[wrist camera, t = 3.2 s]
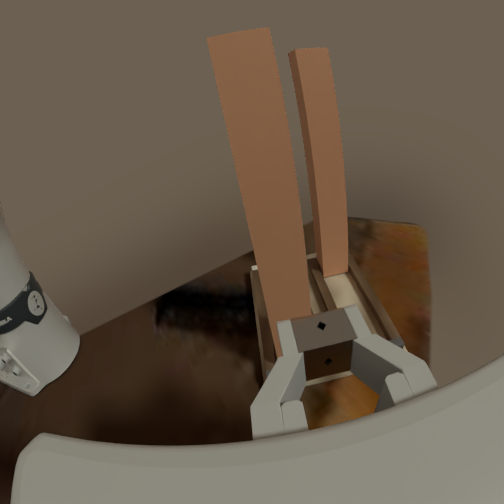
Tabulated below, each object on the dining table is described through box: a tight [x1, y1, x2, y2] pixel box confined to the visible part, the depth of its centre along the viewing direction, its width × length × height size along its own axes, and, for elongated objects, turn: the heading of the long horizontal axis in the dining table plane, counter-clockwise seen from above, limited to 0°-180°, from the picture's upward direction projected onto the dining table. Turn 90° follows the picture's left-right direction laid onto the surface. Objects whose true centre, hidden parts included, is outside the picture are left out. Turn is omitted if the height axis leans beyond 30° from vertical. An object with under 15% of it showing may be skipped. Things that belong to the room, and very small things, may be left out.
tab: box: [207, 27, 312, 359], centre depth 24 cm, size 4×4×32 cm
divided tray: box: [250, 252, 407, 386], centre depth 39 cm, size 17×23×2 cm
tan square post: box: [288, 47, 348, 277], centre depth 37 cm, size 4×4×32 cm
